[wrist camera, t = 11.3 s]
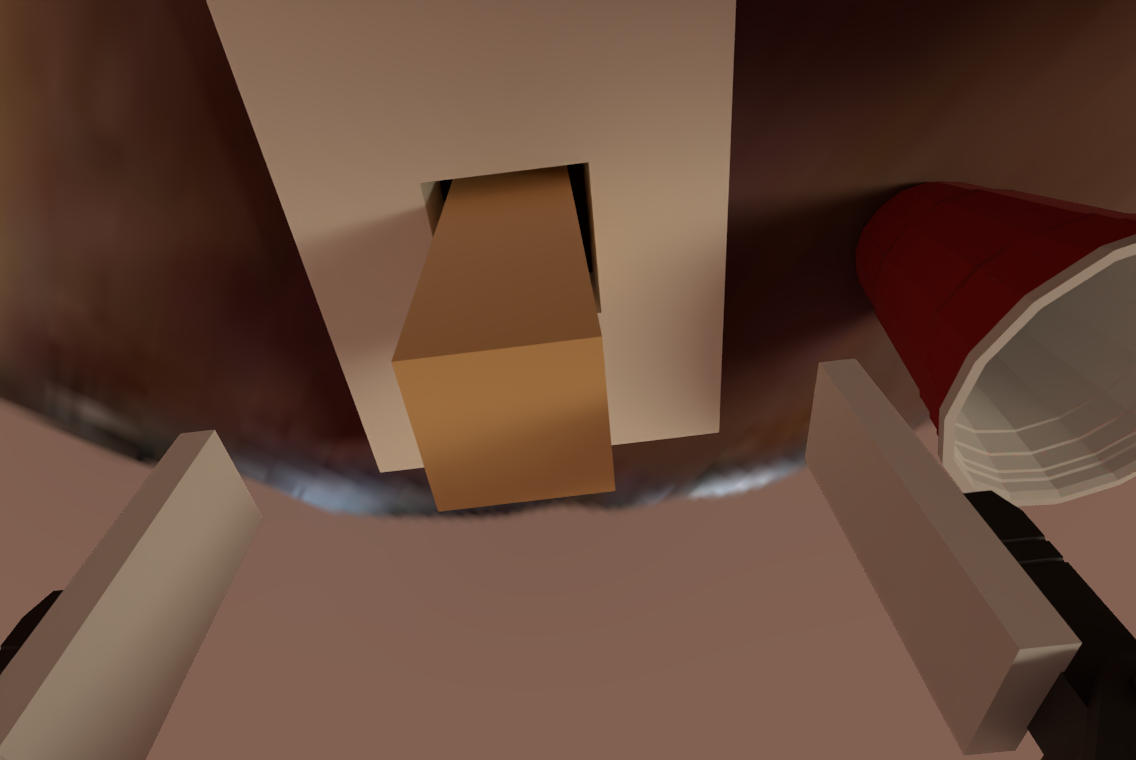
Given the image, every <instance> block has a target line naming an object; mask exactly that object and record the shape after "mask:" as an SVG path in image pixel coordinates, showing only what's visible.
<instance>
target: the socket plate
mask: <svg viewBox="0 0 1136 760" xmlns="http://www.w3.org/2000/svg"><path fill="white" fill-rule="evenodd" d="M206 2H207V4H208V7H209V10H210V13H211V15H212V18H213V21H214V23H215V26H216V29H217V32H218V34H219V37H220V40H221V42H222V45H223V48H224V51H225V53H226V56H227V59H228V61H229V64H230V67H231V69H232V72H233V75H234V78H235V80H236V83H237V86H238V88H239V91H240V94H241V97H242V99H243V102H244V105H245V107H246V110H247V113H248V116H249V118H250V121H251V124H252V126H253V129H254V132H255V134H256V137H257V140H258V143H259V145H260V148H261V151H262V153H263V156H264V159H265V162H266V164H267V167H268V170H269V172H270V175H271V178H272V180H273V183H274V186H275V189H276V191H277V194H278V197H279V199H280V202H281V205H282V208H283V210H284V213H285V216H286V218H287V221H288V224H289V227H290V229H291V232H292V235H293V237H294V240H295V243H296V245H297V248H298V251H299V254H300V256H301V259H302V262H303V264H304V267H305V270H306V273H307V275H308V278H309V281H310V283H311V286H312V289H313V292H314V294H315V297H316V300H317V302H318V305H319V308H320V310H321V313H322V316H323V319H324V321H325V324H326V327H327V329H328V332H329V335H330V338H331V340H332V343H333V346H334V348H335V351H336V354H337V357H338V359H339V362H340V365H341V367H342V370H343V373H344V375H345V378H346V381H347V384H348V386H349V389H350V392H351V394H352V397H353V400H354V403H355V405H356V408H357V411H358V413H359V416H360V419H361V421H362V424H363V427H364V430H365V432H366V435H367V438H368V440H369V443H370V446H371V449H372V451H373V454H374V457H375V459H376V462H377V465H378V468H379V470H380V472H388V471H397V470H405V469H414V468H422V467H424V465H423V461H422V458H421V455H420V452H419V449H418V445H417V442H416V439H415V436H414V433H413V430H412V426H411V423H410V420H409V417H408V414H407V410H406V407H405V404H404V401H403V398H402V394H401V391H400V388H399V385H398V382H397V379H396V375H395V372H394V369H393V366H392V363H391V361H392V358H393V355H394V352H395V349H396V346H397V343H398V340H399V338H400V335H401V332H402V329H403V326H404V323H405V320H406V317H407V314H408V311H409V308H410V305H411V302H412V299H413V296H414V293H415V290H416V287H417V284H418V281H419V278H420V275H421V272H422V269H423V266H424V263H425V260H426V258H427V255H428V252H429V249H430V246H431V243H432V240H433V237H434V234H435V231H436V228H437V225H438V222H439V219H440V216H441V213H442V210H443V207H444V204H445V203H444V199H443V194H442V190H441V185H440V180H449V179H457V178H465V177H473V176H481V175H489V174H497V173H505V172H513V171H522V170H530V169H538V168H546V167H554V166H562V165H570V164H578V163H583V171H584V182H585V193H586V204H587V215H588V226H589V237H590V248H591V260H592V271H593V272H592V273H589V275H590V280H591V285H592V290H593V295H594V300H595V304H596V309H597V314H598V319H599V324H600V329H601V333H602V341H603V352H604V364H605V376H606V387H607V399H608V411H609V422H610V434H611V445H617V444H625V443H634V442H642V441H651V440H659V439H668V438H676V437H685V436H693V435H701V434H710V433H718V432H719V418H720V393H721V368H722V342H723V317H724V292H725V267H726V242H727V217H728V192H729V166H730V141H731V116H732V91H733V66H734V41H735V15H736V0H206Z"/></svg>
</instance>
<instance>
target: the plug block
mask: <svg viewBox="0 0 1136 760" xmlns="http://www.w3.org/2000/svg"><path fill="white" fill-rule="evenodd" d="M391 363H392V366H393V369H394V372H395V375H396V379H397V382H398V385H399V388H400V391H401V394H402V398H403V401H404V404H405V407H406V410H407V414H408V417H409V420H410V423H411V426H412V430H413V433H414V436H415V439H416V442H417V445H418V449H419V452H420V455H421V458H422V461H423V465H424V468H425V471H426V474H427V477H428V480H429V484H430V487H431V490H432V493H433V496H434V500H435V503H436V506H437V509H438V512H439V511H447V510H456V509H464V508H473V507H481V506H490V505H498V504H507V503H515V502H524V501H532V500H541V499H549V498H558V497H566V496H575V495H583V494H592V493H600V492H609V491H615V480H614V469H613V457H612V445H611V434H610V422H609V411H608V399H607V387H606V376H605V364H604V352H603V341H602V333H601V329H600V324H599V319H598V314H597V309H596V304H595V300H594V295H593V290H592V285H591V280H590V275H589V271H588V266H587V261H586V256H585V251H584V246H583V242H582V237H581V232H580V227H579V222H578V217H577V212H576V208H575V203H574V198H573V193H572V188H571V183H570V179H569V174H568V169H567V165H562V166H554V167H546V168H538V169H530V170H522V171H513V172H505V173H497V174H489V175H481V176H473V177H465V178H457V179H453V180H452V183H451V186H450V189H449V192H448V195H447V198H446V201H445V204H444V207H443V210H442V213H441V216H440V219H439V222H438V225H437V228H436V231H435V234H434V237H433V240H432V243H431V246H430V249H429V252H428V255H427V258H426V260H425V263H424V266H423V269H422V272H421V275H420V278H419V281H418V284H417V287H416V290H415V293H414V296H413V299H412V302H411V305H410V308H409V311H408V314H407V317H406V320H405V323H404V326H403V329H402V332H401V335H400V338H399V340H398V343H397V346H396V349H395V352H394V355H393V358H392V361H391Z"/></svg>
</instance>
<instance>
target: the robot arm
mask: <svg viewBox="0 0 1136 760" xmlns="http://www.w3.org/2000/svg"><path fill="white" fill-rule="evenodd" d="M805 461H806V463H807V465H808V467H809V468H810V470H811V472H812V474H813V476H814V478H815V480H816V481H817V483H818V485H819V487H820V489H821V490H822V492H823V494H824V496H825V498H826V500H827V502H828V504H829V506H830V507H831V509H832V511H833V513H834V515H835V517H836V519H837V520H838V522H839V524H840V526H841V528H842V530H843V531H844V533H845V535H846V537H847V539H848V540H849V543H850V544H851V546H852V548H853V550H854V552H855V554H856V556H857V558H858V559H859V561H860V563H861V565H862V567H863V569H864V571H865V573H866V574H867V576H868V578H869V580H870V582H871V584H872V586H873V587H874V589H875V591H876V593H877V595H878V597H879V598H880V600H881V602H882V604H883V606H884V608H885V610H886V612H887V613H888V615H889V617H890V619H891V621H892V623H893V625H894V626H895V628H896V630H897V632H898V634H899V636H900V638H901V639H902V641H903V643H904V645H905V647H906V649H907V650H908V652H909V654H910V656H911V658H912V660H913V662H914V664H915V666H916V667H917V669H918V671H919V673H920V675H921V677H922V678H923V680H924V682H925V684H926V686H927V688H928V690H929V692H930V693H931V695H932V697H933V699H934V701H935V703H936V705H937V706H938V708H939V710H940V712H941V714H942V715H943V718H944V719H945V721H946V723H947V725H948V727H949V729H950V731H951V733H952V734H953V736H954V738H955V740H956V742H957V743H958V746H959V747H960V749H961V751H962V753H963V755H972V754H982V753H993V752H1003V751H1013V750H1016V749H1017V747H1018V745H1019V743H1020V742H1021V741H1022V739H1023V737H1024V736H1025V734H1026V732H1027V731H1028V730H1029V732H1030V733H1031V735H1032V737H1033V738H1034V740H1035V741H1036V743H1037V744H1038V746H1039V747H1040V749H1041V751H1042V752H1043V754H1044V756H1043V757H1042V759H1041V760H1136V639H1135V638H1134V637H1133V636H1132V634H1131V633H1130V632H1129V631H1128V630H1127V629H1126V628H1125V626H1124V625H1123V624H1122V623H1121V622H1120V621H1119V620H1118V619H1117V617H1116V616H1115V615H1114V614H1113V613H1112V612H1111V611H1110V609H1109V608H1108V607H1107V606H1106V605H1105V604H1104V603H1103V602H1102V600H1101V599H1100V598H1099V597H1098V596H1097V595H1096V594H1095V592H1094V591H1093V590H1092V589H1091V588H1090V587H1089V586H1088V585H1087V583H1086V582H1085V581H1084V580H1083V579H1082V578H1081V577H1080V575H1079V574H1078V573H1077V572H1076V571H1075V570H1074V569H1073V567H1072V566H1071V565H1070V564H1069V563H1068V562H1064V560H1063V556H1062V555H1061V554H1060V553H1059V552H1058V550H1057V549H1056V548H1055V547H1054V546H1053V545H1052V544H1051V543H1050V541H1046V540H1045V538H1044V537H1045V536H1044V535H1043V534H1042V532H1041V531H1040V530H1039V529H1038V528H1037V527H1036V526H1035V524H1034V523H1033V522H1032V521H1031V520H1030V519H1029V518H1028V517H1027V516H1026V514H1025V513H1024V512H1023V511H1022V510H1021V509H1019V508H1017V507H1016V506H1015V505H1013V504H1011V503H1010V502H1008V501H1007V500H1005V499H1004V498H1002V497H1001V496H999V495H998V494H996V493H995V492H993V491H992V490H988V491H979V492H969V493H962V492H961V491H960V489H959V488H958V487H957V486H956V484H955V483H954V482H953V481H952V479H951V478H950V477H949V476H948V474H947V473H946V472H945V471H944V469H943V468H942V467H941V466H940V464H938V462H937V461H936V459H935V458H934V457H933V456H932V454H931V453H930V452H929V451H928V449H927V448H926V447H925V446H924V444H923V443H922V442H921V441H920V439H919V438H918V437H917V436H916V434H915V433H914V432H913V431H912V429H911V428H910V427H909V426H908V424H907V423H906V422H905V421H904V419H903V418H902V417H901V416H900V414H899V413H898V412H897V411H896V409H895V408H894V407H893V406H892V404H891V403H890V402H889V401H888V399H887V398H886V397H885V395H884V394H883V393H882V392H881V390H880V389H879V388H878V387H877V385H876V384H875V383H874V382H873V380H872V379H871V378H870V377H869V375H868V374H867V373H866V372H865V370H864V369H863V368H862V367H861V365H860V364H859V363H858V362H857V360H856V359H847V360H838V361H829V362H820V363H819V366H818V372H817V379H816V386H815V393H814V400H813V406H812V413H811V420H810V427H809V434H808V440H807V447H806V454H805ZM262 519H263V517H262V515H261V513H260V511H259V510H258V508H257V506H256V504H255V502H254V500H253V499H252V497H251V495H250V493H249V491H248V489H247V488H246V486H245V484H244V482H243V480H242V479H241V477H240V475H239V473H238V471H237V469H236V468H235V466H234V464H233V462H232V460H231V458H230V457H229V455H228V453H227V451H226V449H225V448H224V446H223V444H222V442H221V440H220V438H219V437H218V435H217V433H216V431H215V430H209V431H200V432H191V433H182V434H180V435H179V436H178V438H177V439H176V440H175V442H174V443H173V444H172V446H171V447H170V448H169V450H168V451H167V452H166V454H165V455H164V456H163V458H162V459H161V460H160V462H159V463H158V464H157V466H156V467H155V468H154V470H153V471H152V472H151V474H150V475H149V477H148V478H147V479H146V480H145V482H144V483H143V484H142V486H141V487H140V489H139V490H138V491H137V492H136V494H135V495H134V497H133V498H132V499H131V501H130V502H129V503H128V505H127V506H126V507H125V509H124V510H123V511H122V513H121V514H120V516H119V517H118V518H117V520H116V521H115V522H114V523H113V525H112V526H111V527H110V529H109V530H108V531H107V533H106V534H105V535H104V537H103V538H102V539H101V541H100V542H99V544H98V545H97V547H96V548H95V549H94V550H93V551H92V553H91V554H90V556H89V557H88V558H87V560H86V561H85V562H84V564H83V565H82V566H81V568H80V569H79V570H78V572H77V573H76V574H75V576H74V577H73V578H72V580H71V581H70V582H69V584H68V585H67V586H66V588H65V589H64V590H59V591H53V592H52V593H51V594H49V595H48V596H47V597H46V598H45V599H44V600H42V601H41V602H40V603H39V604H38V605H37V606H36V607H34V608H33V609H32V610H31V611H30V612H28V613H27V614H26V615H25V616H24V617H23V618H22V619H21V620H20V622H19V623H18V624H17V625H16V627H15V628H14V629H13V631H12V632H11V633H10V634H9V636H8V637H7V638H6V640H5V641H4V642H3V644H2V645H1V650H0V760H145V759H146V757H147V755H148V753H149V751H150V749H151V747H152V745H153V743H154V741H155V739H156V737H157V735H158V733H159V731H160V729H161V727H162V725H163V722H164V720H165V718H166V716H167V714H168V712H169V710H170V708H171V706H172V704H173V702H174V700H175V698H176V696H177V693H178V692H179V690H180V688H181V685H182V683H183V681H184V679H185V677H186V675H187V673H188V671H189V669H190V667H191V665H192V663H193V661H194V658H195V656H196V654H197V653H198V651H199V648H200V646H201V644H202V642H203V640H204V638H205V636H206V634H207V632H208V630H209V628H210V626H211V624H212V622H213V619H214V618H215V615H216V613H217V611H218V609H219V607H220V605H221V603H222V601H223V599H224V597H225V595H226V593H227V591H228V589H229V587H230V585H231V583H232V580H233V578H234V576H235V574H236V572H237V570H238V568H239V566H240V564H241V562H242V560H243V558H244V556H245V554H246V552H247V550H248V547H249V546H250V543H251V541H252V539H253V537H254V535H255V533H256V531H257V529H258V527H259V525H260V523H261V521H262Z"/></svg>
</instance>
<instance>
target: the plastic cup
mask: <svg viewBox="0 0 1136 760" xmlns="http://www.w3.org/2000/svg"><path fill="white" fill-rule="evenodd" d="M855 259H856V270H857V275H858V278H859V283H860V284H861V286H862V288H863V289H864V291H865V293H866V294H867V296H868V298H869V299H870V301H871V303H872V304H873V306H874V308H875V314H876V316H877V318H878V319H879V321H880V323H881V325H882V326H883V328H884V330H885V331H886V333H887V335H888V337H889V338H890V340H891V342H892V344H893V345H894V347H895V349H896V350H897V352H898V354H899V356H900V357H901V359H902V361H903V362H904V364H905V366H906V368H907V369H908V371H909V373H910V374H911V376H912V378H913V380H914V381H915V383H916V385H917V387H918V388H919V390H920V397H921V398H922V400H923V402H924V403H925V405H926V407H927V408H928V410H929V412H930V419H931V420H932V422H933V424H934V425H935V427H936V429H937V435H938V437H939V438H938V455H939V457H940V459H941V462H942V464H943V466H944V467H945V468H946V470H947V471H948V472H949V474H950V475H951V477H952V478H953V479H954V481H955V482H956V483H957V485H958V486H959V487H960V489H961V490H962V492H963V493H969V492H979V491H988V490H992V491H993V492H995V493H996V494H998V495H999V496H1001V497H1002V498H1004V499H1005V500H1007V501H1008V502H1010V503H1011V504H1013V505H1015V506H1031V505H1048V504H1059V503H1062V502H1065V501H1068V500H1072V499H1075V498H1078V497H1082V496H1085V495H1088V494H1091V493H1094V492H1098V491H1101V490H1104V489H1108V488H1111V487H1114V486H1118V485H1119V484H1122V483H1123V482H1125V481H1127V480H1129V479H1131V478H1133V477H1135V476H1136V214H1128V213H1122V212H1117V211H1112V210H1107V209H1103V208H1098V207H1093V206H1088V205H1083V204H1078V203H1073V202H1068V201H1063V200H1058V199H1053V198H1048V197H1043V196H1039V195H1034V194H1029V193H1024V192H1019V191H1014V190H998V189H991V188H986V187H982V186H977V185H972V184H968V183H961V182H926V183H923V184H920V185H917V186H914V187H911V188H909V189H906V190H903V191H901V192H900V193H898V194H897V195H896V196H894V197H893V198H891V199H890V200H889V201H887V202H886V203H885V204H883V205H882V206H881V207H879V208H878V210H877V211H876V212H875V214H874V215H873V216H872V218H871V219H870V220H869V222H868V223H867V224H866V226H865V227H864V228H863V230H862V233H861V236H860V239H859V242H858V245H857V248H856V251H855Z"/></svg>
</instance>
